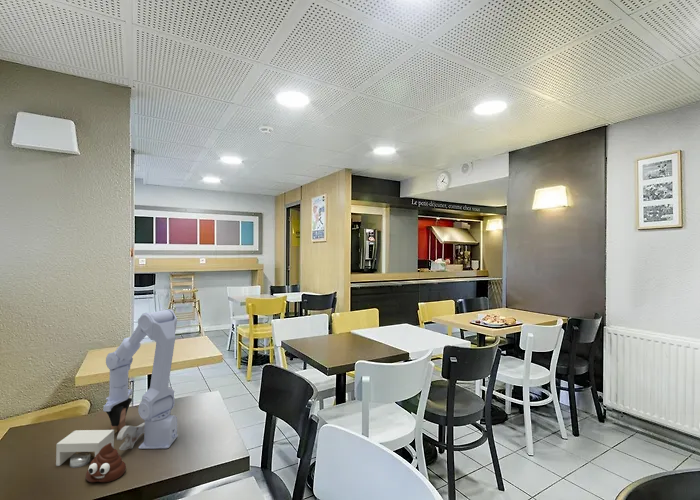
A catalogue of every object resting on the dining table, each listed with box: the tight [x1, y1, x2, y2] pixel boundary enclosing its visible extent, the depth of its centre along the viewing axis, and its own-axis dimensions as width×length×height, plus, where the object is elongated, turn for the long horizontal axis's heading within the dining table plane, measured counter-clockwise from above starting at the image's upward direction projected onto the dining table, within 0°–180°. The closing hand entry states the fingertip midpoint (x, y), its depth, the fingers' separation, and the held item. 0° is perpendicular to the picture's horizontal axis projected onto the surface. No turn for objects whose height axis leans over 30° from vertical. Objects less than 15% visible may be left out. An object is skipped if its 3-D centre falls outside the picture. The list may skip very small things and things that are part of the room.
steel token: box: [69, 452, 92, 469], centre depth 109 cm, size 5×5×2 cm
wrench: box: [116, 421, 145, 451], centre depth 127 cm, size 8×2×30 cm
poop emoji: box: [85, 443, 127, 483], centre depth 104 cm, size 10×8×9 cm
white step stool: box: [55, 429, 115, 467], centre depth 112 cm, size 12×8×6 cm, turn 94°
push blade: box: [75, 408, 127, 459], centre depth 121 cm, size 6×19×7 cm, turn 4°
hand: (118, 422), depth 129 cm, fingers closed on push blade, 3 cm apart
